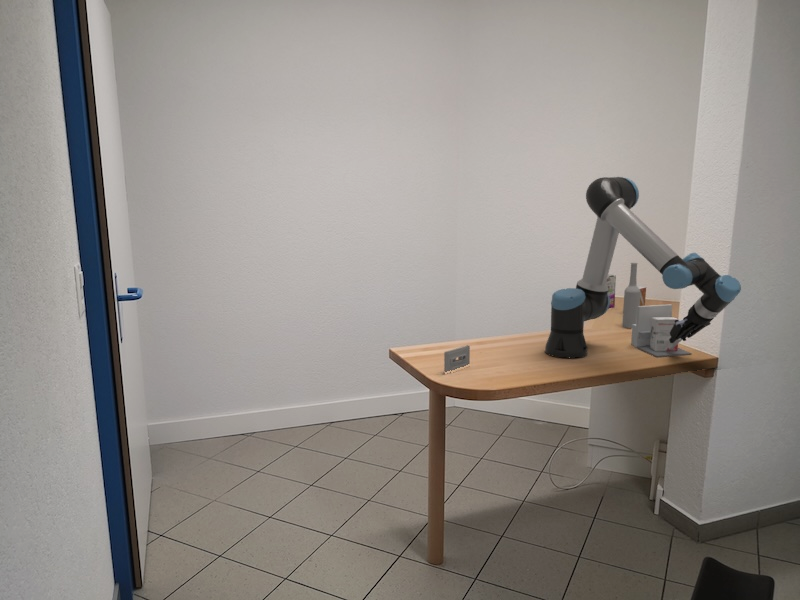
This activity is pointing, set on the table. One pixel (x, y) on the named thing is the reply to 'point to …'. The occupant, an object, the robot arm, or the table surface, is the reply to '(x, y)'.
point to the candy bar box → (611, 289)
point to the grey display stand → (643, 329)
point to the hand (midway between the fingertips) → (669, 345)
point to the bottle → (631, 300)
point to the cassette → (451, 356)
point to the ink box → (661, 333)
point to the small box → (642, 295)
